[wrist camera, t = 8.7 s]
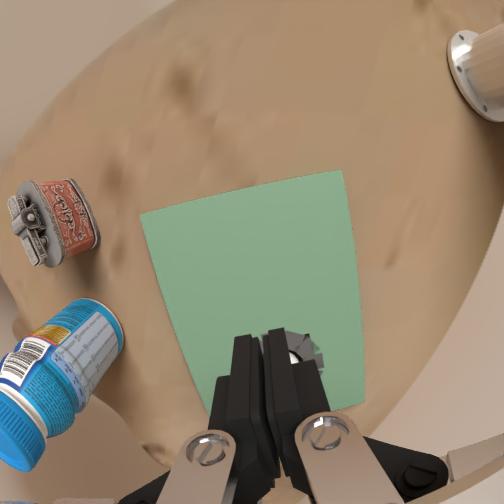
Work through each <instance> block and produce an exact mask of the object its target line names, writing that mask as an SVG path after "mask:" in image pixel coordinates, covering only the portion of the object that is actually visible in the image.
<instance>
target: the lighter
mask: <svg viewBox="0 0 504 504" xmlns="http://www.w3.org/2000/svg"><path fill="white" fill-rule="evenodd" d="M8 208H9V210H10V213H11V216H12V218H13V220H12V223H11V228H12V231H13V233H14V234H15V235H17V236H19V237H20V238H21V241H22V244H23V246H24V248H25V251H26V253H27V255H28V257H29V259H30V261H31V263H32V265H33V266H35V267H36V266H38V265H40V264H42V263H44V264H45V265H46V266H47V267H51V268H53V267H55V266H57V265H59V264H61V263H62V262H63V261H64V260H65V259H67V258H69V257H71V256H73V255H75V254H77V253H79V252H82V251H84V250H89V249H92V248H94V247H96V246H97V245H98V244H99V242H100V232H99V229H98V225H97V222H96V219H95V216H94V214H93V211H92V209H91V206H90V204H89V202H88V200H87V199H86V197H85V195H84V193H83V191H82V190H81V188H80V187H79V185H78V184H77V182H76V181H75V180H73V179H64V180H62V181H53V182H39V183H36V182H34V181H26V182H23V183H22V184H21V185H20V186H19V188H18V190H17V194H16V196H12V197H10V198H9V200H8Z"/></svg>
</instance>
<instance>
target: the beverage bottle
mask: <svg viewBox="0 0 504 504" xmlns="http://www.w3.org/2000/svg"><path fill="white" fill-rule="evenodd" d="M123 341H124V338H123V331H122V328H121V325H120V323H119V321H118V320H117V318H116V317H115V315H114V314H113V313H112V312H111V311H110V310H109V309H108V308H107V307H106V306H105V305H103V304H102V303H100V302H98V301H96V300H93V299H88V298H81V299H77V300H75V301H73V302H72V303H70V304H69V305H68V306H67V307H66V308H65V309H63V310H62V311H61V312H59V313H58V314H57V315H55V316H54V317H53V318H52V319H50V320H49V321H48V322H46V323H45V324H44V325H42V326H41V327H40V328H39V329H37V330H36V331H35V332H34V333H32V334H31V335H29V336H27V337H25V338H24V339H22V340H21V341H20V342H19V343H18V344H17V346H16V347H15V349H14V352H11V353H8V354H7V355H6V356H5V357H4V358H3V359H2V361H1V362H0V459H2V460H3V461H4V462H6V463H7V464H8V465H10V466H11V467H13V468H15V469H17V470H19V471H22V472H30V471H31V470H32V469H33V468H34V467H35V465H36V464H37V462H38V461H39V459H40V457H41V456H42V454H43V452H44V451H45V448H46V444H47V441H46V438H50V437H54V436H57V435H59V434H61V433H63V432H65V431H66V430H67V429H69V428H70V427H71V426H72V424H73V422H74V419H75V415H77V414H79V413H80V412H81V411H82V410H83V409H84V408H85V407H86V405H87V403H88V401H89V398H90V396H91V394H92V393H93V391H94V390H95V388H96V387H97V385H98V383H99V382H100V380H101V379H102V377H103V376H104V374H105V373H106V371H107V370H108V369H109V367H110V366H111V364H112V363H113V361H114V360H115V359H116V358H117V356H118V355H119V353H120V352H121V350H122V347H123Z"/></svg>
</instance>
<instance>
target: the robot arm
mask: <svg viewBox="0 0 504 504" xmlns="http://www.w3.org/2000/svg"><path fill="white" fill-rule="evenodd" d="M447 56H448V62H449V66H450V69H451V73H452V75H453V78H454V80H455V82H456V84H457V86H458V88H459V90H460V92H461V93H462V95H463V96H464V98H465V99H466V101H467V102H468V103H469V104H470V106H471V107H472V108H473V109H474V110H475V111H476V112H477V113H478V114H479V115H481V116H482V117H484V118H485V119H487V120H489V121H492V122H503V121H504V23H502V24H500V25H498V26H496V27H494V28H492V29H490V30H488V31H486V32H484V33H482V34H480V35H479V34H477V33H475V32H472V31H468V30H463V31H459V32H457V33H456V34H454V35H453V36H452V37H451V39H450V40H449V43H448V48H447ZM263 353H264V358H263V354H262V350H261V346H260V342H259V338H258V337H253V338H252V335H251V334H247V335H241V336H236V337H235V338H234V345H233V354H232V363H231V371H230V375H226V376H219V377H217V380H216V385H215V390H214V396H213V402H212V408H211V414H210V420H209V425H208V430H205V431H202V432H198V433H196V434H194V435H193V436H191V437H190V438H188V439H187V440H186V441H185V442H184V444H183V445H182V447H181V449H180V451H179V453H178V456H177V458H176V460H175V462H174V465H173V467H172V469H171V470H170V471H168V472H166V473H165V474H163V475H162V476H160V477H158V478H157V479H155V480H153V481H152V482H150V483H148V484H147V485H145V486H143V487H142V488H140V489H138V490H136V491H134V492H133V493H131V494H129V495H127V496H126V497H124V498H123V499H121V500H120V501H118V502H117V501H116V500H115V499H79V498H59V499H57V500H55V501H54V502H53V503H52V504H262V497H264V496H265V495H266V494H267V493H268V492H269V491H270V488H275V481H274V479H275V478H280V477H281V473H280V461H279V457H280V460H281V463H282V466H283V469H284V472H285V475H286V477H288V476H290V478H291V481H292V485H293V487H294V488H296V489H298V490H300V491H302V492H303V493H305V494H307V495H308V498H309V501H310V504H504V433H503V434H500V435H498V436H495V437H492V438H490V439H487V440H484V441H482V442H479V443H476V444H473V445H469V446H466V447H463V448H460V449H456V450H453V451H449V452H448V454H447V455H446V456H443V457H436V456H434V455H431V454H426V453H422V452H418V451H414V450H410V449H406V448H402V447H398V446H395V445H391V444H388V443H384V442H381V441H377V440H374V439H371V438H368V437H365V436H362V435H361V433H360V432H359V430H358V428H357V427H356V425H355V424H354V422H353V421H352V420H351V419H350V418H349V417H348V416H346V415H344V414H342V413H338V412H331V410H330V406H329V403H328V400H327V397H326V393H325V390H324V387H323V384H322V380H321V377H320V374H319V371H318V368H317V365H316V362H315V359H311V360H307V361H303V362H298V363H293V364H291V359H290V354H289V349H288V344H287V339H286V334H285V329H284V327H282V328H277V329H272V330H268V335H264V336H263ZM0 504H36V503H30V502H23V501H0Z"/></svg>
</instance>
